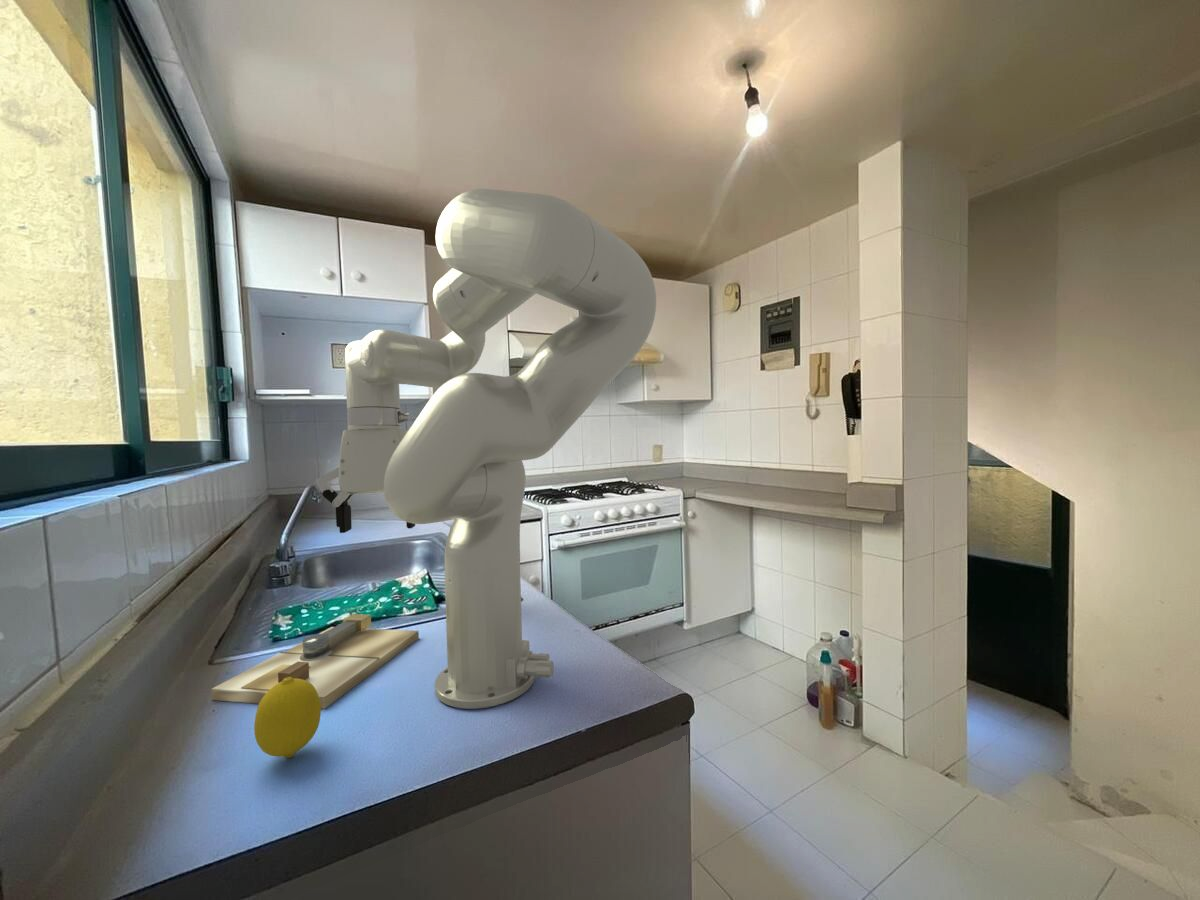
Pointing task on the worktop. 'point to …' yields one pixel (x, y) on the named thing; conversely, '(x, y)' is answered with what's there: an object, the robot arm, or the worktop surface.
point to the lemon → (287, 717)
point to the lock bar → (335, 635)
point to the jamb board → (319, 667)
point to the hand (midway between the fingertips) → (378, 529)
